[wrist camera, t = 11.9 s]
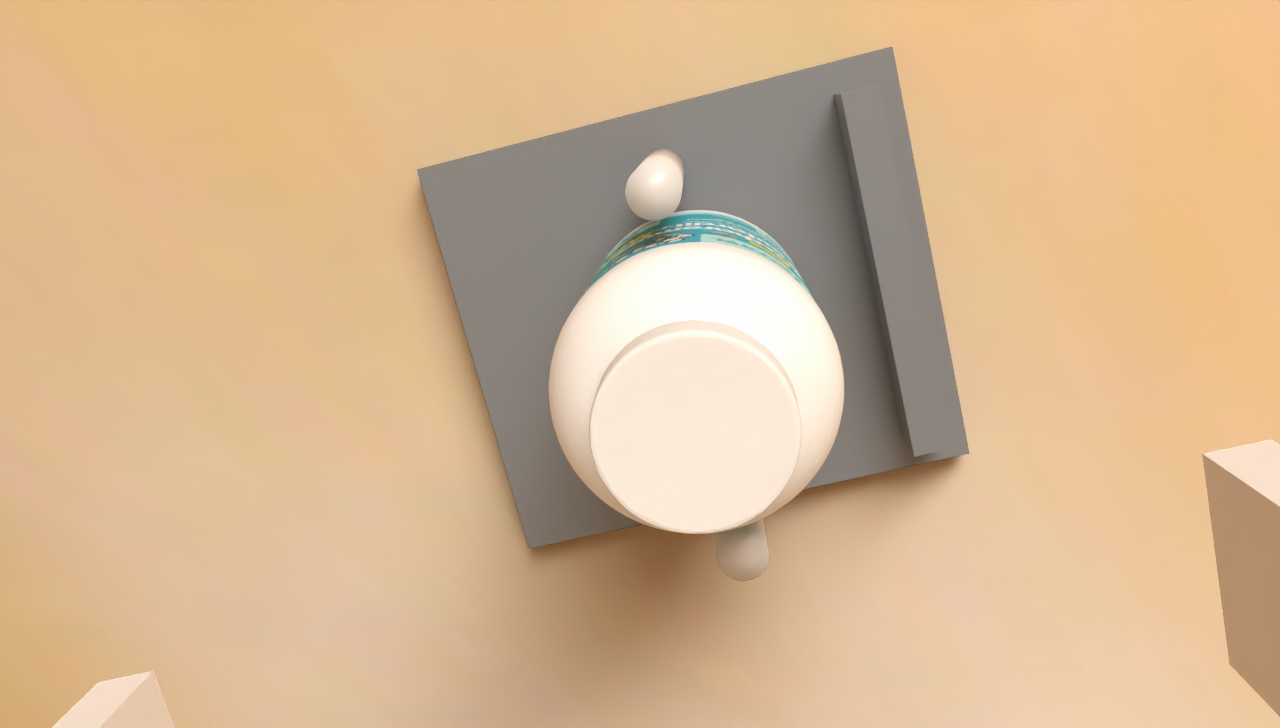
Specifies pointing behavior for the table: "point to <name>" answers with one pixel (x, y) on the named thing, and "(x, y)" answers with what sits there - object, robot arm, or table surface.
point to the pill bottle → (696, 376)
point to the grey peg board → (725, 182)
